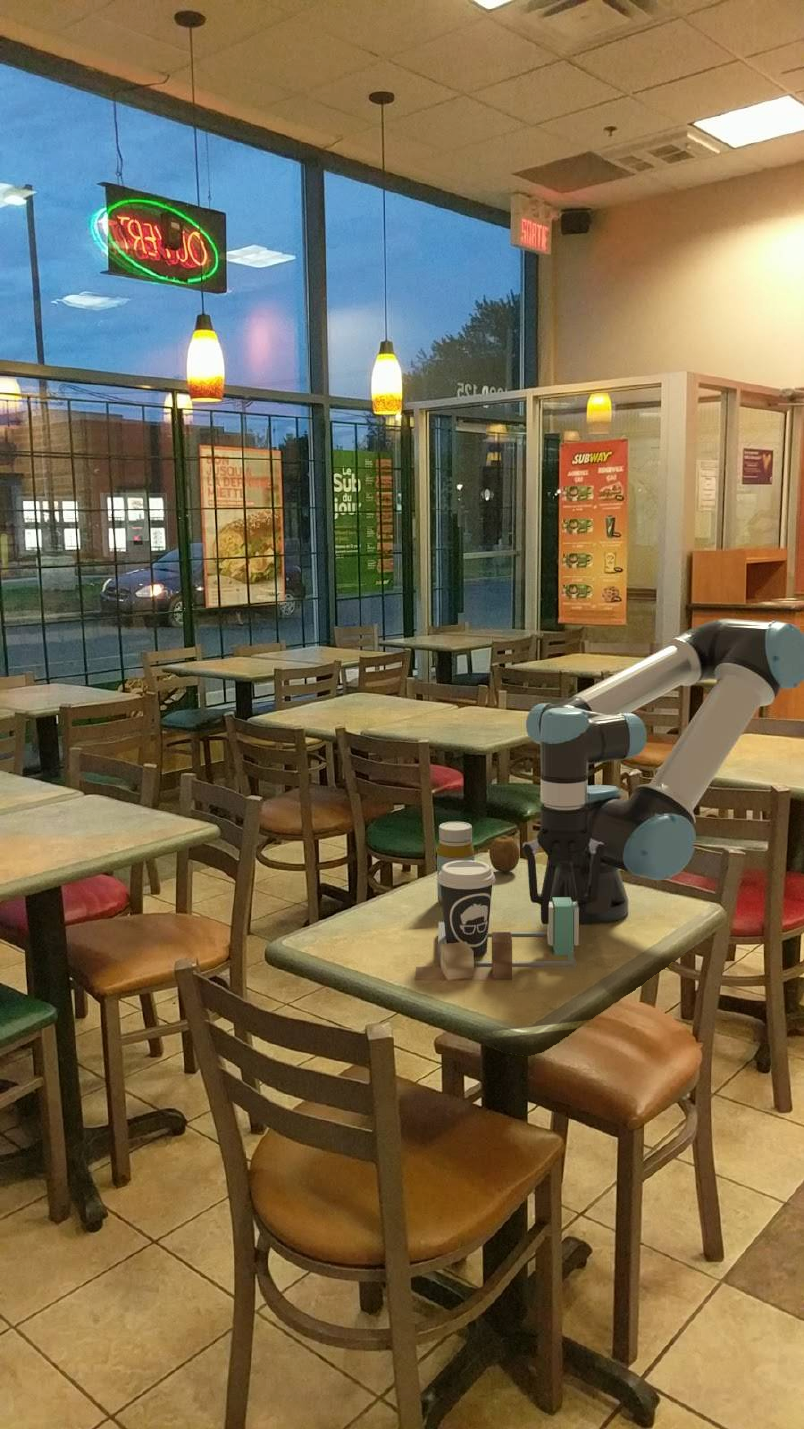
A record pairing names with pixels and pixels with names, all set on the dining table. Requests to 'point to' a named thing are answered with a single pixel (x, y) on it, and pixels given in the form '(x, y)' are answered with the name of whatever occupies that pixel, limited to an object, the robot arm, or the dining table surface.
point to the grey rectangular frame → (560, 935)
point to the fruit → (504, 854)
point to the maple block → (457, 960)
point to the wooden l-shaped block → (497, 972)
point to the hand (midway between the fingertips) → (562, 941)
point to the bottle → (453, 845)
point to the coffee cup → (467, 902)
